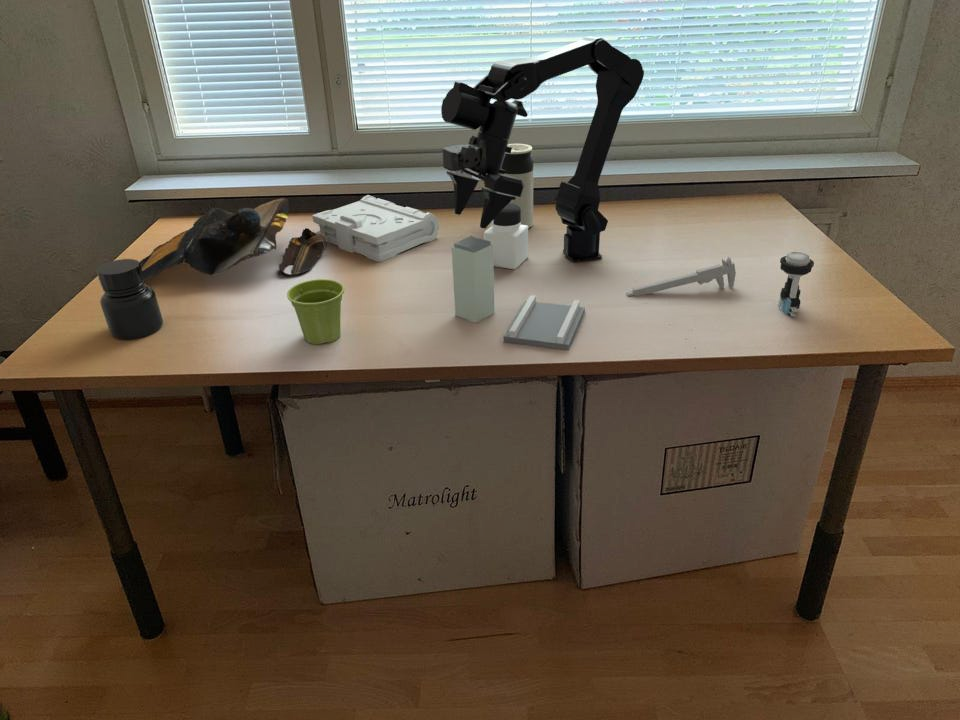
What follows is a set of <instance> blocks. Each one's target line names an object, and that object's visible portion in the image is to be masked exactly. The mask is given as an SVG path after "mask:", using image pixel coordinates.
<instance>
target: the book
mask: <svg viewBox="0 0 960 720" xmlns="http://www.w3.org/2000/svg"><path fill="white" fill-rule="evenodd" d="M311 217H312V222H313V223H314V224H316V225H318V226H319V230H318V231H315V234H316V235H318V234H322V238H323V243H324V242H325V243H330V244H332V245H335V246H337V247H338V249H341V250H343V251H345V250H346V252H348V253H351V254H352V253H357V254H359V255H361V256H365V257H366V258H368V259H370V260H373V261H375V262H378V263H381V262H384V260H385V261H387V260H389V259H392V258H394V257H396V256H397V255H398V254H401V253H402V252H405V251H407V250H409V249H411V248H414V247H416V246H419V245H421V244H425V243H429V242H432V241H435V239H436V238H437V237H438V235H439V230H440V222H439V219H438V218H437V215H436V214H433V213H431V212H428V211H427V212H426V213H425V212H424V211H421V210H420V209H417V208H413V207H409V206H405V207H404V206H401V205H397V204H396V203H394V202H392V201H389V200H385V199H382V198H379V197H378V198H376V197H375V196H372V195H369V194H367V195H365V196H363V197H362V198H361V199H360V200H358V201H355V202H352V203H348V204H346V205H343V206H340V207H337V208H334V209H328V210H323V211H321V212H317V213H315V214H312V215H311Z"/></svg>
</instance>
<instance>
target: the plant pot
mask: <svg viewBox="0 0 960 720" xmlns="http://www.w3.org/2000/svg"><path fill="white" fill-rule="evenodd" d="M344 292H345V287H344V285H343V283H342V282H340V281H337V280H334V279H329V278H324V279H323V278H320V279H317V278H316V279H310V280H305V281H302V282H299V283H297V284H294V285H293V286H291V287H290V288H289V289H288V291H287V292H286V297H287V300H288V301H290V302H291V305H292V307H293V308H294V311H295V313H296V317H297V320H298V323H299V326H300V329H301V332H302V335H303V337H304V339H305V341H306V342H307V343H309V344H313V345H322V344H323V343H329V344H330V343H332V342H335V341H336V340H337V339H339V337H340V336H341V321H342V320H341V315H342V314H341V312H342V311H341V309H342V306H341V305H342V300H343V295H344Z"/></svg>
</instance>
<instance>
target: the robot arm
mask: <svg viewBox="0 0 960 720" xmlns="http://www.w3.org/2000/svg"><path fill="white" fill-rule="evenodd" d="M586 66H588V68H589V69H590V70H591V71H592V72H593V73H594V74H595V75H597V76H596V82H595V90H596V91H595V92H596V98H597V104H596V107H595V110H594V113H593V117H592V119H591V123H590V126H589V129H588V132H587V135H586V138H585V142H584V144H583V146H582V147H583V148H582V150H581V153H580V157H579V160H578V163H577V165H576V169H575V172H574V175H573V176H572V177H571V178H570V179H569V180H568V181H567V182H566V181H564V180H563V181H562V180H561V182H560V184H559V186H558V192H557V195H556V196H555V198H554V201H555V211H556V212H557V213H556V214H557V215H558V217H559V218H560V220H561V224H563V225H566V233H564V235H563V249H562V252H563V253H564V254H565V255H566V257H567V258H568V259H569V260H570V261H571V262H573V263H576V262H577V263H578V262H584V261H585V262H586V261H591V260H593V261H594V260H600V259H602V258H603V255H602V254H601V253H600V241H601V240H600V238H601V232H604V231H606V228H607V226H608V224H609V223H608V222H609V221H608V219H607V218H606V217H605V215H603V214H602V213H601V212H600V210H599V207H600V203H601V194H600V188H599V182H600V178H601V174H602V172H603V169H604V167H605V164H606V160H607V158H608V154H609V151H610V149H611V145H612V142H613V140H614V136H615V132H616V130H617V127H618V123H619V121H620V118H621V116H622V115H621V114H622V113H623V110H624V109H625V108H626V107H627V106H628V104H629V103H630V102H631V101H632V100H633V99H634V98H635V97H636V95H637V93H638V91H639V89H640V86H641V85H642V82H643V79H644V75H645V70H644V68H643V64H642V63H641V61H640V60H639V59H637V58H633V57H632V58H631V57H630V56H629V55H627V54H625V53H624V52H622V51H621V50H619V49H618V48H616V47H614V46H613V45H611V43H609V42H608V41H607V40H606V39H604V38H602V37H596V36H585V37H583V38H582V39H580V40H578V41H575V42H572V43H570V44H569V43H568V44H566V45H563V46H560V47H558V48H556V49H552V50H550V51H547V52H544V53H541V54H539V55H536V56H532V57H525V58H511V59H510V58H509V59H503V60H502V59H501V60H497V61H496V62H494V63H493V64H492V65H491V66H490V70H489V71H488V73H487V74H486V75H485V76H484V77H483V78H481V80H480V81H479V82H478V83H476V84H475V85H474V86H470V85H468V84H467V83H464V82H461V81H457V80H455V81H454V83H453V87H452V88H451V89H449V90H448V91H447V94H446V95H445V97H444V98H443V99H442V103H441V108H440V109H441V112H440V113H441V118H442V120H443V121H444V122H445V123H448V124H451V125H455V126H459V127H462V128H465V129H468V130H469V129H470V130H472V131H476V130H478V131H477V135H476V136H475V135H472V136H471V137H470V138H469V142H468V143H467V144H457V145H450V146H445V147H442V166H443V168H444V169H445V170H448V171H446V175H447V176H449V179H451V181H452V185H453V196H454V197H453V199H454V200H453V201H454V214H455V215H459V216H460V215H461V214H462V213H463V211H464V209H465V207H466V206H467V204H468V203H469V200H470V198H471V196H472V195H473V193H474V190H476V187H477V185H478V183H479V181H480V180H481V181H483V184H484V187H485V188H484V187H481V190H482V191H481V192H482V193H483V196H484V201H483V208H482V212H481V216H480V222H479V228H481V229H486V228H487V227H488V226H489V225H491V222H492V221H493V219H494V218H495V217H496V216H497V215H498V214H499V213H500V212H501V210H502V209H503V208H504V207H506V206H507V205H508V204H509V203H510V202H511V201H512V200H515V199H516V197H514V196H518V197H521V195H522V192H523V189H524V185H523V183H522V180H519V179H517V178H515V177H512V176H509V175H505V170H503V169H501V167H502V163H503V160H504V156H505V153H506V152H507V153H511V150H512V148H511V147H508V144H510V143H509V142H510V140H511V135H512V132H513V128H514V126H515V121H516V118H517V116H521V117H523V118H527V117H528V112H527V110H526V108H525V107H524V104H523V101H521V100H522V99H524V98H526V97H527V96H529V95H531V94H532V93H533V92H535V91H537V90H538V88H539V87H540V86H541V85H542V84H544V83H545V82H546V81H548V80H551V79H554V78H557V77H559V76H562V75H564V74H567V73H570V72H573V71H575V70H578V69H580V68H583V67H586ZM511 99H512V100H513V101H511V102H510V101H508V100H511ZM491 100H495V101H494V102H491Z"/></svg>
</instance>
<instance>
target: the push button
mask: <svg viewBox="0 0 960 720" xmlns="http://www.w3.org/2000/svg"><path fill="white" fill-rule="evenodd" d="M779 263H780V270H781V271H783V272H784V273H785V274H787V278H786V282H784V286H783V287H781V290H780V294H779V297H780V298H779V300H778V304H777V307H778V309H782V311H783V313H784V314H785V315H790V316H791V317H797V312H798V310H799V309H800V306H801V299H800V296H801V292H802V291H801V289H800V284H799V283H800V280H801V278H802V276H806V275H808V274H809V273H811V271H812V268H813V267H814V264H815V262H814V260H812V259H811V258H810V255H808V254H807V253H804V252H801V251H800V252H799V251H791V252H788V253H787V254H786V255H785V256H782V257H781V258H780V259H779Z"/></svg>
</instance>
